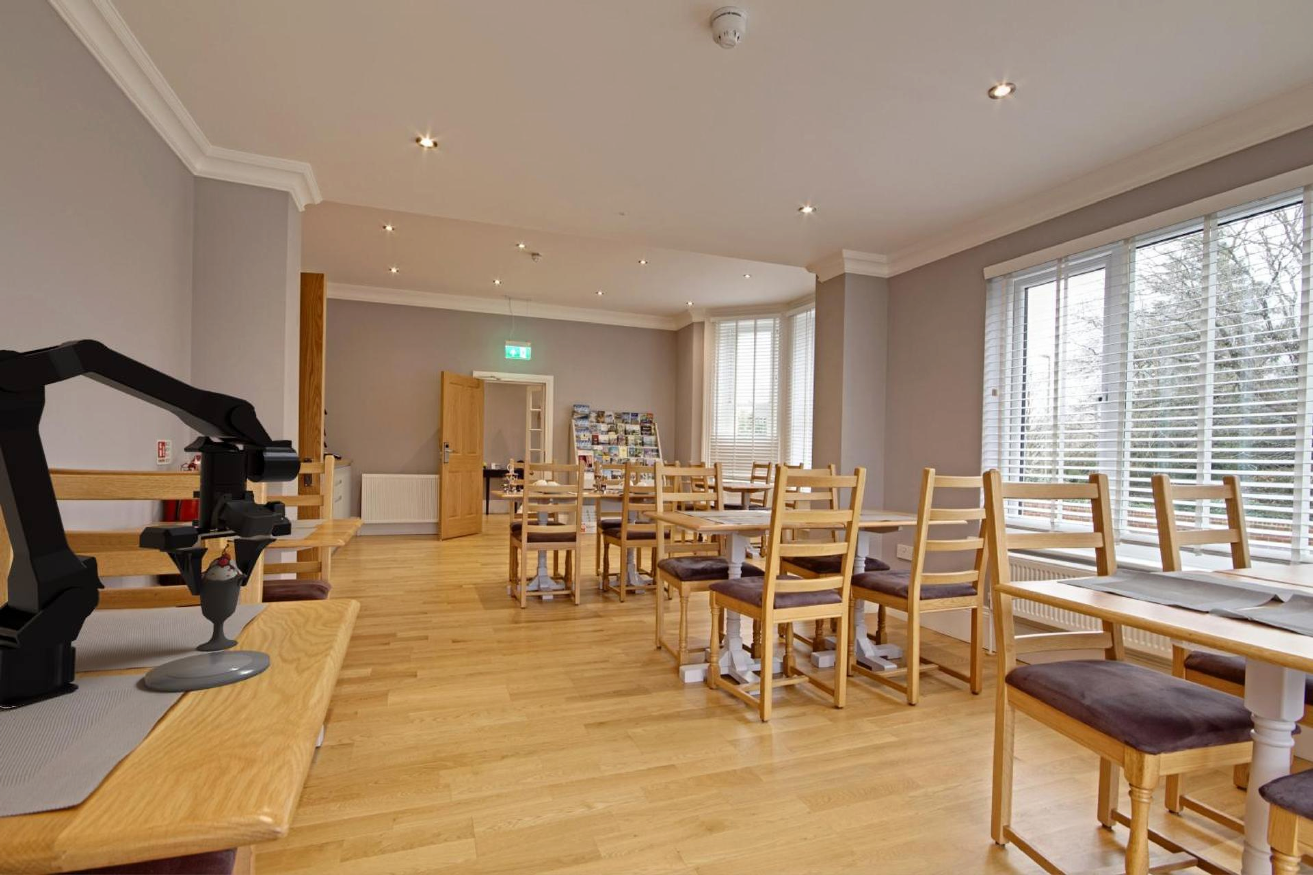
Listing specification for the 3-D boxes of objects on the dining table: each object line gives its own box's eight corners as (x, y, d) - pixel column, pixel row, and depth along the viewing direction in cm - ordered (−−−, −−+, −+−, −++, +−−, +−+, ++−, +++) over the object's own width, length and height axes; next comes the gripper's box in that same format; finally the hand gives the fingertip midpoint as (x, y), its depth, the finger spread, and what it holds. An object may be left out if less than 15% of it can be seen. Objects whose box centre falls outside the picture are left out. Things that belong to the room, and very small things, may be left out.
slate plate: (192, 697, 71) (192, 689, 71) (119, 682, 76) (119, 674, 76) (292, 662, 84) (293, 656, 84) (224, 651, 88) (225, 645, 88)
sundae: (224, 653, 87) (228, 546, 88) (177, 652, 87) (182, 545, 88) (255, 639, 94) (259, 540, 94) (212, 638, 94) (216, 539, 94)
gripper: (195, 488, 80) (191, 610, 79) (319, 483, 97) (315, 583, 97) (138, 485, 84) (134, 602, 83) (267, 481, 101) (264, 577, 101)
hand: (219, 590), depth 91 cm, fingers closed on sundae, 6 cm apart
